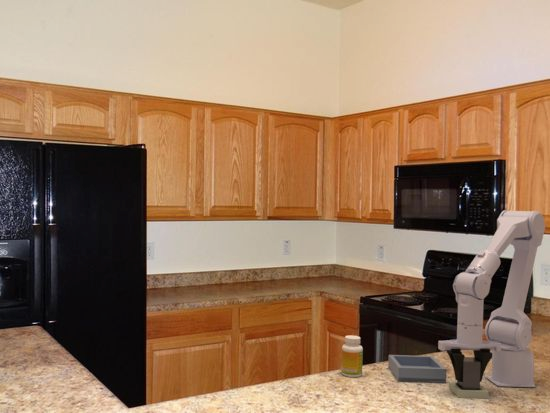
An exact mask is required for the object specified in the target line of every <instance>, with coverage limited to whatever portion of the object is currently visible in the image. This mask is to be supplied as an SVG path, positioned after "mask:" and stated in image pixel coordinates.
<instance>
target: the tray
mask: <svg viewBox="0 0 550 413" xmlns="http://www.w3.org/2000/svg"><path fill="white" fill-rule="evenodd" d="M387 363H388V364H387V368H388V369H389V371H390V372H391V373H392V375H393V376H394V378H395V380H397V382H398V383H429V384H430V383H433V384H435V383H436V384H446V383H447V368H446V367H445V366H444V365H443V364H441V362H440V361H438V359H437V358H435V357H434V356H433V355H410V354H409V355H405V354H402V355H401V354H388V362H387Z"/></svg>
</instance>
